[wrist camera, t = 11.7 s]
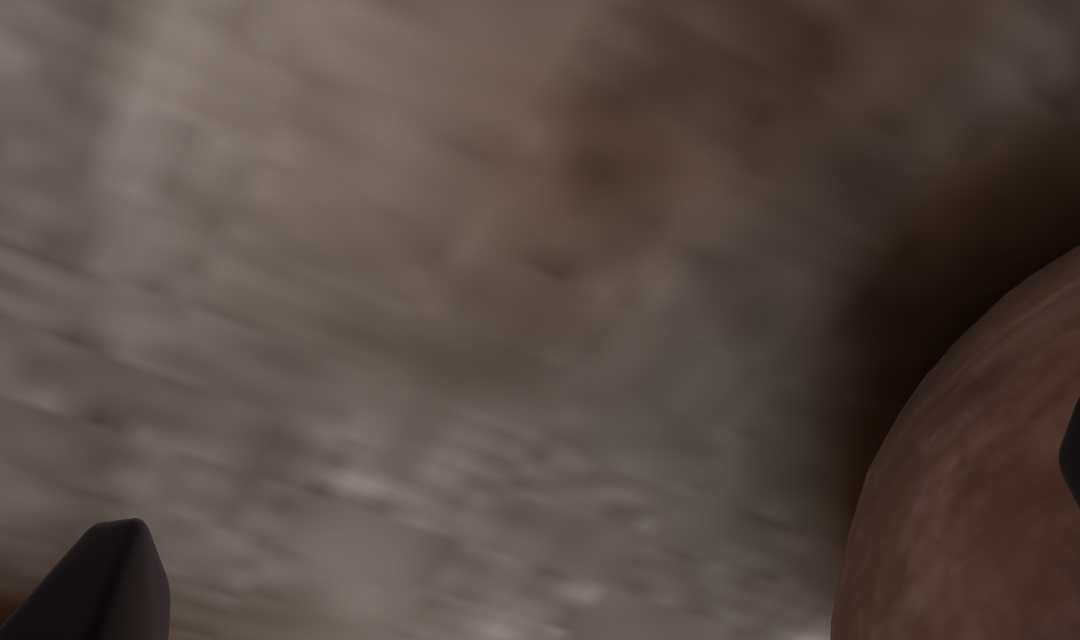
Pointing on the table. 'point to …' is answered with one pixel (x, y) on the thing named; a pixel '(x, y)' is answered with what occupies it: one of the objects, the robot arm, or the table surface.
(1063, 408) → the bowl
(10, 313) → the table surface
